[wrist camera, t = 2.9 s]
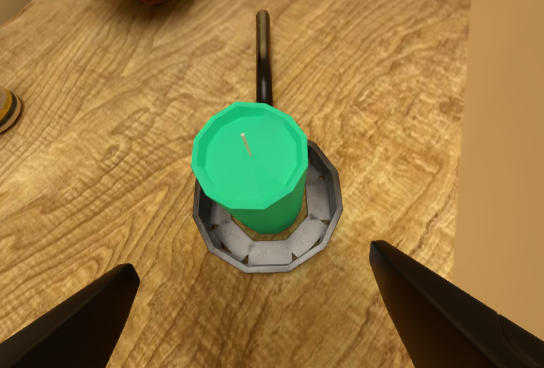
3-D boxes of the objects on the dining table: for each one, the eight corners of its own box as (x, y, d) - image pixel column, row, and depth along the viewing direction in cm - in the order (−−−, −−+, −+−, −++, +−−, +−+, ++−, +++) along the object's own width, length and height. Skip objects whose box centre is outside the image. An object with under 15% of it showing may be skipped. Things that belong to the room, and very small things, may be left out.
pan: (342, 269, 19) (351, 270, 16) (201, 272, 19) (186, 274, 17) (312, 26, 28) (314, 0, 25) (218, 36, 29) (210, 11, 26)
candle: (232, 182, 22) (168, 98, 11) (290, 166, 22) (289, 65, 11) (244, 242, 20) (184, 219, 9) (309, 225, 20) (332, 178, 9)
